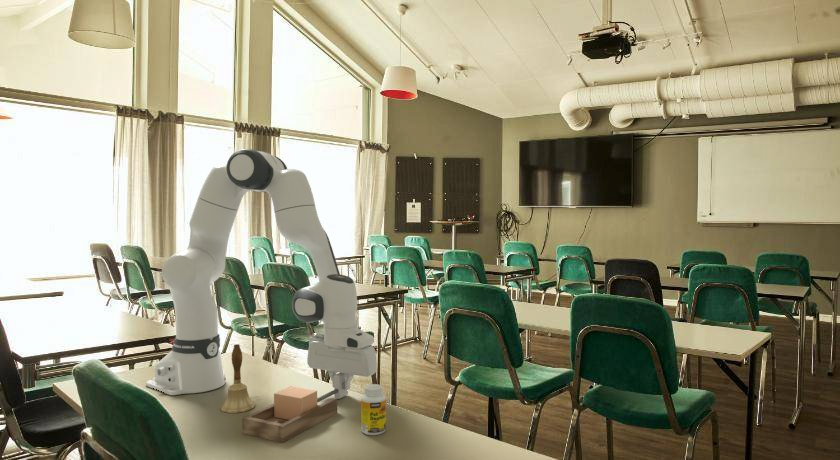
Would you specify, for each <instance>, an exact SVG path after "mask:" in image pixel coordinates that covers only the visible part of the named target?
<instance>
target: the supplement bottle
mask: <svg viewBox="0 0 840 460" xmlns="http://www.w3.org/2000/svg"><path fill="white" fill-rule="evenodd" d="M386 401H387V398H386V394H384V393H383V385H381V384H378V383H377V384H376V383H372V384H367V385H365V386H364V394H362V395H361V397H360V406H361V407H360V414H361V415H360V418H361V421H360V422H361V425H360V430H361V432H362V433H363V434H365V435H367V436H379V435H381V434H383V433H385V431H386V429H387V411H386V410H387V402H386Z"/></svg>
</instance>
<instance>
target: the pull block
mask: <svg viewBox="0 0 840 460" xmlns="http://www.w3.org/2000/svg"><path fill="white" fill-rule="evenodd" d="M346 378H347V377H345V373H340V372H337V373H336V375H334V389H333V390H331V391H329V392H327V393H325V394H323V395H321V396H319V397H318V390H315V389H309V388H302V387H296V386H287V387H286V388H283V389H281V390H278V391H276V392H274V393H273V404H274V417H277V418H282V419H287V420H291V419H293V418H295V417H297V416H299V415H300V414H302V413H304V412H306V411H308V410H310V409H312V408H314V407H316V406H317V405H318V403H320V402H322V401H323V400H326V399H327V398H330V397H333V396H334V397H333V398H336V399H337V400H338V399H339V400H340V399H342V398H344V397H346V396H347V395H349V390H348V391H347V390H345V389H342V383H343V382H345V381H346Z"/></svg>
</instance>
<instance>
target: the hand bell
mask: <svg viewBox="0 0 840 460" xmlns="http://www.w3.org/2000/svg"><path fill="white" fill-rule="evenodd" d="M240 346H241V345H240V344H237V343H236V344H234V345H233V348H232V352H231V364H232V367H233V383H232V384H231V385H230V386H228V388H227V389H228V390H227V396H226V400H225V402H224V403H223V404H222V405H221V407H220V411H221V412H223V413H228V414H238V413H244V412H247V411H250V410H253V409H254V408H255V407H256V403H255V402H254V401H253V400H252V399H251V397H250V395H249V393H248V387H247V385H246V384H245V383H242V378H241V376H242V375H241V368H242V363H243V352H242V348H241V347H240Z"/></svg>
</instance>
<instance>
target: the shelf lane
mask: <svg viewBox="0 0 840 460" xmlns="http://www.w3.org/2000/svg"><path fill="white" fill-rule="evenodd" d="M337 413H338V398H334V397H333V398H330V399H328V400H326V401H324V402H322V403H321V404H317V406H316V407H314V408H312V409H310V410H308V411H306V412H304V413H302V414H300V415H299V416H297V417H295V418H293V419H291V420H287V419H282V418H277V417H274V403H271V404H270V405H268V406H265V407H264V408H261V409H259V410H257V411H253V412H252V413H250V414H248V415H247V414H246V416H244V417H242V418H241V422H242V426H241V427H242V428H241V429H242V432H241V433H242V434H244V435H248V436H252V437H253V436H254V437H257V438H260V439H261V438H262V439H265V440H270V441H274V442H279V443H281V444H282V443H286V441H289V440H291V439H292V438H294V437H296V436H298V435H300V434H301V433H304V431H306V430H307V431H308V430H309V429H311V428H312V427H314V426H316V425H318V424H320V423H322V422H323V421H325V420H327V419H328V418H330V417H332V416H334V415H335V414H337Z"/></svg>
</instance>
